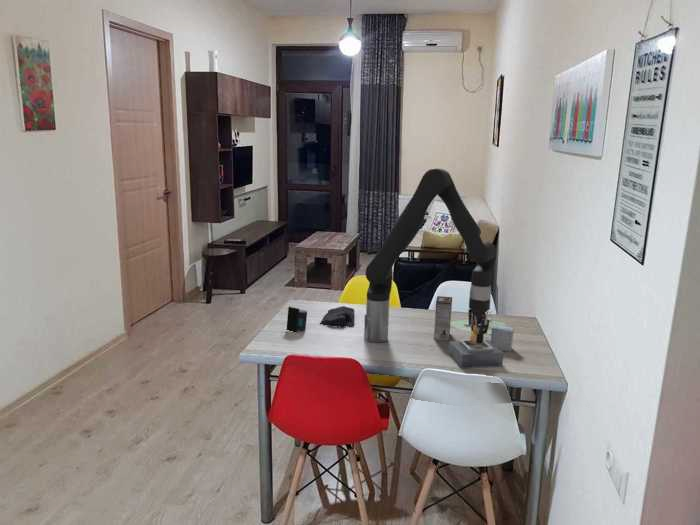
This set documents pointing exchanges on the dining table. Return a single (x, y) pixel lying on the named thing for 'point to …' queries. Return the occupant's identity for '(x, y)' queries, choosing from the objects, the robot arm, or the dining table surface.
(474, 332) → the tan stepped cylinder
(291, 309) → the speaker
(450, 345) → the block
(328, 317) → the dark slate chunk
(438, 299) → the coffee box
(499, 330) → the medicine box
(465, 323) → the plant
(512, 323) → the dining table surface
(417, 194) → the robot arm
